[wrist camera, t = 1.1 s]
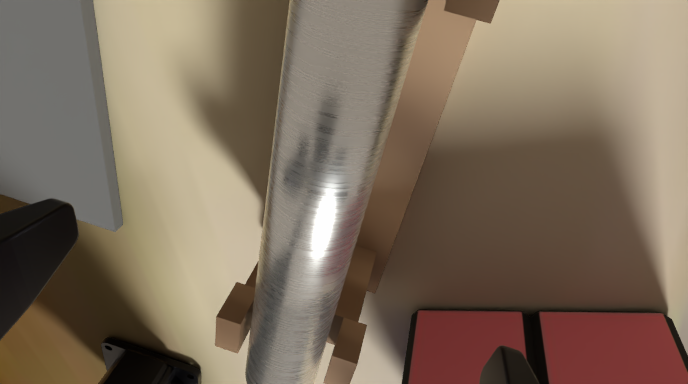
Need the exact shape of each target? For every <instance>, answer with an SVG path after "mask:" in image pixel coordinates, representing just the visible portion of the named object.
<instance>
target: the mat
mask: <svg viewBox="0 0 688 384" xmlns="http://www.w3.org/2000/svg"><path fill="white" fill-rule="evenodd" d="M0 194H2V195H5V196H8V197H11V198H14V199H17V200H20V201H23V202H26V203H29V204H33V203H36V202H39V201H42V200H46V199H49V198H55V199H59V200H62V201H65V202H68V203H70V204H71V205H72V206H73V207H74V210H75V215H76V219H77V220H80V221H84V222H87V223H90V224H93V225H96V226H99V227H102V228H105V229H108V230H111V231H114V232H116V231H117V230H118V229H119V228H120V227H121V226H122V225H123V219H122V212H121V205H120V197H119V190H118V183H117V175H116V168H115V161H114V153H113V146H112V139H111V131H110V124H109V116H108V109H107V102H106V94H105V87H104V80H103V72H102V65H101V58H100V50H99V43H98V36H97V28H96V21H95V14H94V6H93V0H0Z"/></svg>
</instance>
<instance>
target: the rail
mask: <svg viewBox="0 0 688 384" xmlns="http://www.w3.org/2000/svg"><path fill="white" fill-rule="evenodd" d="M427 4H428V0H290V2H289V11H288V19H287V27H286V36H285V44H284V52H283V61H282V69H281V78H280V86H279V94H278V103H277V111H276V120H275V128H274V136H273V145H272V153H271V162H270V170H269V178H268V187H267V195H266V204H265V212H264V220H263V229H262V237H261V246H260V254H259V262H258V271H257V279H256V287H255V296H254V304H253V313H252V321H251V329H250V338H249V346H248V355H247V363H246V372H245V373H246V381H247V384H314V382H315V378H316V375H317V372H318V368H319V365H320V362H321V358H322V355H323V352H324V348H325V345H326V341H327V338H328V335H329V331H330V328H331V325H332V321H333V318H334V315H335V311H336V308H337V305H338V301H339V298H340V295H341V291H342V288H343V285H344V281H345V278H346V275H347V271H348V268H349V265H350V261H351V258H352V254H353V251H354V248H355V244H356V241H357V238H358V234H359V231H360V228H361V224H362V221H363V218H364V214H365V211H366V208H367V204H368V201H369V198H370V194H371V191H372V188H373V184H374V181H375V178H376V174H377V171H378V167H379V164H380V161H381V157H382V154H383V151H384V147H385V144H386V141H387V137H388V134H389V131H390V127H391V124H392V121H393V117H394V114H395V111H396V107H397V104H398V101H399V97H400V94H401V91H402V87H403V84H404V80H405V77H406V74H407V70H408V67H409V64H410V60H411V57H412V54H413V50H414V47H415V44H416V40H417V37H418V34H419V30H420V27H421V24H422V20H423V17H424V14H425V10H426V7H427Z"/></svg>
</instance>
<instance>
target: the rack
mask: <svg viewBox="0 0 688 384" xmlns="http://www.w3.org/2000/svg"><path fill="white" fill-rule="evenodd" d="M498 3H499V0H428V4H427V7H426V10H425V14H424V17H423V20H422V24H421V27H420V30H419V34H418V37H417V40H416V44H415V47H414V50H413V54H412V57H411V60H410V64H409V67H408V70H407V74H406V77H405V80H404V84H403V87H402V91H401V94H400V97H399V101H398V104H397V107H396V111H395V114H394V117H393V121H392V124H391V127H390V131H389V134H388V137H387V141H386V144H385V147H384V151H383V154H382V157H381V161H380V164H379V167H378V171H377V174H376V178H375V181H374V184H373V188H372V191H371V194H370V198H369V201H368V204H367V208H366V211H365V214H364V218H363V221H362V224H361V228H360V231H359V234H358V238H357V241H356V244H355V248H354V251H353V254H352V258H351V261H350V265H349V268H348V271H347V275H346V278H345V281H344V285H343V288H342V291H341V295H340V298H339V301H338V305H337V308H336V311H335V315H334V318H333V321H332V325H331V328H330V331H329V335H328V338H327V341H326V342H328V343H331V344H334V345H335V347H334V350H333V353H332V356H331V360H330V363H329V366H328V370H327V373H326V376H325V380H324V383H325V384H350V382H351V379H352V376H353V374H354V371H355V369H356V366H357V363H358V359H359V355H360V351H361V347H362V343H363V339H364V335H365V331H366V326H367V325H365V324H362V323H359V322H358V321H359V317H360V313H361V310H362V306H363V302H364V298H365V295H366V291H370V292H373V293H375V292H376V290H377V287H378V284H379V282H380V279H381V276H382V273H383V271H384V268H385V265H386V263H387V260H388V257H389V255H390V252H391V249H392V246H393V244H394V241H395V238H396V236H397V233H398V230H399V228H400V225H401V222H402V219H403V217H404V214H405V211H406V209H407V206H408V203H409V201H410V198H411V195H412V192H413V190H414V187H415V184H416V182H417V179H418V176H419V174H420V171H421V168H422V165H423V163H424V160H425V157H426V155H427V152H428V149H429V147H430V144H431V141H432V138H433V136H434V133H435V130H436V128H437V125H438V122H439V120H440V117H441V114H442V111H443V109H444V106H445V103H446V101H447V98H448V95H449V93H450V90H451V87H452V84H453V82H454V79H455V76H456V74H457V71H458V68H459V66H460V63H461V60H462V57H463V55H464V52H465V49H466V47H467V44H468V41H469V39H470V36H471V33H472V30H473V28H474V25H475V22H476V20H479V21H483V22H487V23H491V21H492V18H493V16H494V13H495V11H496V8H497V6H498ZM258 262H259V261H258ZM257 271H258V263H257V264H256V266H255V268H254V270H253V272H252V273H251V275H250V277H249V279H248V280H247V282H246V284H245V285H244V284H241V283H238V282H236V284H235V286H234V288H233V289H232V291H231V293H230V294H229V296H228V298H227V299H226V301H225V303H224V305H223V306H222V308H221V310H220V311H219V313H218V315H217V316H216V339H215V346H217V347H220V348H223V349H226V350H229V351H232V352H235V353H238V352H239V350H240V348H241V346H242V344H243V342H244V340H245V338H246V336H247V334H248V332H249V330H250V328H251V321H252V313H253V304H254V296H255V287H256V279H257Z"/></svg>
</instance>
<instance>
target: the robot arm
mask: <svg viewBox="0 0 688 384" xmlns="http://www.w3.org/2000/svg"><path fill="white" fill-rule="evenodd" d="M78 236H79V229H78V224H77V220H76V215H75V210H74V207H73V206H72V205H71V204H70V203H68V202H65V201H62V200H59V199H55V198H49V199H46V200H42V201H39V202H36V203H33V204H30V205H27V206H24V207H21V208H18V209H14V210H11V211H8V212H5V213H2V214H0V340H1V339H2V338H3V337H4V335H5V334H6V333H7V332H8V331H9V330H10V329H11V328H12V326H13V325H14V324H15V323H16V322H17V321H18V320H19V318H20V317H21V316H22V315H23V314H24V313H25V311H26V310H27V309H28V308H29V307H30V306H31V304H32V303H33V302H34V300H35V299H36V298H37V297H38V295H39V294H40V293H41V291H42V290H43V288H44V287H45V286H46V284H47V283H48V281H49V280H50V279H51V277H52V276H53V274H54V273H55V272H56V270H57V269H58V267H59V266H60V265H61V263H62V262H63V260H64V259H65V258H66V256H67V255H68V253H69V252H70V251H71V249H72V248H73V246H74V245H75V243H76V242H77V240H78ZM101 347H102V351H103V356H104V360H105V365H106V369H107V372H106V374H105V375H104V376H103V378H102V379H101V380H100V382H99V383H98V384H201V371H200V370H199V369H197V368H196V367H193V366H191V365H188V364H185V363H182V362H179V361H176V360H173V359H170V358H168V357H165V356H162V355H159V354H156V353H153V352H150V351H148V350H145V349H142V348H139V347H136V346H133V345H130V344H127V343H125V342H122V341H119V340H116V339H113V338H109V337H108V338H106V339H105V340H104V341H103V342H102V344H101ZM479 384H539V382H538V380H537V378H536V376H535V375H534V373H533V371H532V369H531V367H530V365H529V364H528V362H527V360H526V358H525V356H524V355H523V353H522V352H520V351H519V350H516V349H513V348H510V347H507V346H504V345H500V346H498V347H497V348H496V350H495V351H494V353H493V354H492V355H491V357H490V358H489V360H488V361H487V363H486V364H485V365H484V367H483V369H482V372H481V375H480V381H479Z"/></svg>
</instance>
